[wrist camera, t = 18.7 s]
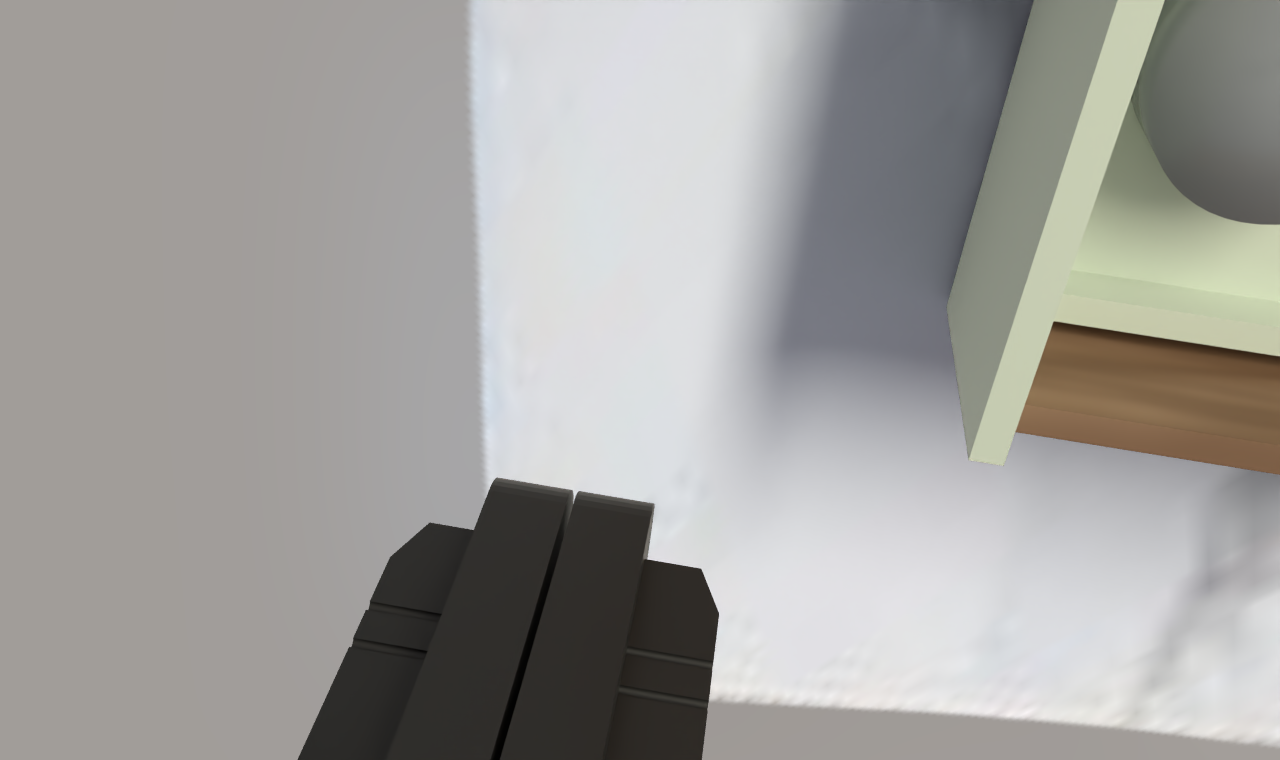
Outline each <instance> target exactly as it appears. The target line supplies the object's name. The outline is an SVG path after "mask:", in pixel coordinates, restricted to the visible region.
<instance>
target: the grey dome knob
mask: <svg viewBox="0 0 1280 760" xmlns="http://www.w3.org/2000/svg"><path fill="white" fill-rule="evenodd" d="M1131 101H1132V104H1133V108H1134V112H1135V115H1136V117H1137V119H1138V122H1139V124H1140V126H1141V128H1142V130H1143V132H1144V134H1145V136H1146V138H1147V140H1148V142H1149V144H1150V146H1151V147H1152V149H1153V151H1154V153H1155V155H1156V157H1157V159H1158V161H1159V163H1160V165H1161V167H1162V169H1163V171H1164V172H1165V174H1166V175H1167V177H1168V178H1169V180H1170V181H1171V183H1172V184H1173V185H1174V186H1175V187H1176V188H1177V189H1178V190H1179V191H1180V192H1181V193H1182V194H1183V195H1184V196H1185V197H1186V198H1188V199H1189V200H1190V201H1192V202H1193V203H1194V204H1196V205H1197V206H1199V207H1201V208H1203V209H1205V210H1206V211H1208V212H1210V213H1213V214H1215V215H1218V216H1220V217H1223V218H1226V219H1230V220H1234V221H1238V222H1242V223H1251V224H1259V225H1280V0H1165V1H1164V4H1163V7H1162V10H1161V13H1160V16H1159V18H1158V21H1157V24H1156V27H1155V30H1154V33H1153V36H1152V39H1151V42H1150V44H1149V47H1148V50H1147V53H1146V56H1145V59H1144V62H1143V65H1142V68H1141V70H1140V73H1139V76H1138V79H1137V82H1136V85H1135V88H1134V91H1133V94H1132V96H1131Z"/></svg>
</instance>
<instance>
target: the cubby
mask: <svg viewBox="0 0 1280 760" xmlns="http://www.w3.org/2000/svg"><path fill="white" fill-rule="evenodd" d="M1015 432H1019V433H1025V434H1031V435H1037V436H1043V437H1050V438H1056V439H1062V440H1068V441H1074V442H1081V443H1087V444H1093V445H1099V446H1105V447H1112V448H1118V449H1124V450H1130V451H1136V452H1143V453H1149V454H1155V455H1161V456H1167V457H1173V458H1180V459H1186V460H1192V461H1198V462H1204V463H1211V464H1217V465H1223V466H1229V467H1235V468H1242V469H1248V470H1254V471H1260V472H1266V473H1273V474H1279V475H1280V356H1274V355H1268V354H1261V353H1255V352H1249V351H1242V350H1236V349H1229V348H1223V347H1216V346H1210V345H1204V344H1197V343H1191V342H1184V341H1178V340H1172V339H1165V338H1159V337H1152V336H1146V335H1140V334H1133V333H1127V332H1120V331H1114V330H1107V329H1101V328H1095V327H1088V326H1082V325H1075V324H1069V323H1063V322H1056V321H1054V322H1053V325H1052V327H1051V330H1050V333H1049V336H1048V339H1047V342H1046V345H1045V348H1044V351H1043V353H1042V356H1041V359H1040V362H1039V365H1038V368H1037V371H1036V374H1035V377H1034V379H1033V382H1032V385H1031V388H1030V391H1029V394H1028V397H1027V400H1026V403H1025V405H1024V408H1023V411H1022V414H1021V417H1020V420H1019V423H1018V426H1017V429H1016V431H1015Z"/></svg>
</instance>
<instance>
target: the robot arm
mask: <svg viewBox="0 0 1280 760" xmlns="http://www.w3.org/2000/svg"><path fill="white" fill-rule="evenodd" d="M653 514H654V504H653V503H647V502H641V501H635V500H629V499H623V498H617V497H611V496H605V495H599V494H593V493H588V492H582V491H579V492H578V493H577V495H576V498H575V501H574V504H573V491H572V490H568V489H562V488H556V487H550V486H544V485H538V484H532V483H526V482H520V481H514V480H508V479H503V478H496V479H495V480H494V481H493V483H492V485H491V487H490V490H489V492H488V495H487V497H486V500H485V503H484V505H483V508H482V510H481V513H480V516H479V518H478V521H477V523H476V526H475V529H474V530H469V529H464V528H458V527H452V526H446V525H440V524H434V523H429V524H428V525H426V526H425V527H424V528H423V529H422V530H421V531H420V532H418V533H417V534H416V535H415V536H414V537H413V538H412V539H410V540H409V541H408V542H407V543H406V544H405V545H403V546H402V547H401V548H400V549H399V550H398V551H397V552H396V553H394V554H393V555H392V556H391V557H390V559H389V561H388V563H387V565H386V567H385V570H384V572H383V574H382V576H381V578H380V581H379V583H378V585H377V587H376V589H375V591H374V594H373V596H372V598H371V600H370V606H369V610H366V611H365V613H364V616H363V618H362V620H361V622H360V624H359V627H358V629H357V631H356V633H355V635H354V638H353V644H352V647H349V648H348V651H347V653H346V655H345V657H344V659H343V662H342V664H341V666H340V669H339V670H338V672H337V675H336V677H335V679H334V681H333V684H332V686H331V688H330V690H329V693H328V694H327V697H326V699H325V701H324V703H323V705H322V707H321V710H320V712H319V714H318V716H317V718H316V721H315V723H314V725H313V727H312V729H311V732H310V734H309V736H308V738H307V740H306V743H305V745H304V747H303V749H302V751H301V754H300V756H299V758H298V760H702V752H703V744H704V736H705V728H706V719H707V708H708V702H709V694H710V685H711V677H712V666H713V660H714V652H715V643H716V635H717V627H718V618H719V612H718V610H717V607H716V605H715V602H714V600H713V597H712V595H711V592H710V590H709V587H708V585H707V582H706V580H705V577H704V575H703V572H702V570H701V569H699V568H693V567H688V566H682V565H676V564H670V563H664V562H658V561H653V560H647V557H648V550H649V543H650V536H651V529H652V522H653Z"/></svg>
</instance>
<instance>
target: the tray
mask: <svg viewBox="0 0 1280 760" xmlns="http://www.w3.org/2000/svg"><path fill="white" fill-rule="evenodd" d="M1164 1H1165V0H1034V2H1033V5H1032V9H1031V12H1030V16H1029V19H1028V23H1027V26H1026V30H1025V33H1024V37H1023V40H1022V44H1021V47H1020V51H1019V54H1018V58H1017V61H1016V65H1015V68H1014V72H1013V75H1012V79H1011V82H1010V86H1009V89H1008V93H1007V96H1006V100H1005V103H1004V107H1003V110H1002V114H1001V117H1000V121H999V124H998V128H997V131H996V135H995V138H994V142H993V146H992V149H991V153H990V156H989V160H988V163H987V167H986V170H985V174H984V177H983V181H982V184H981V188H980V191H979V195H978V198H977V202H976V205H975V209H974V212H973V216H972V219H971V223H970V226H969V230H968V233H967V237H966V240H965V244H964V247H963V251H962V254H961V258H960V261H959V265H958V268H957V272H956V275H955V279H954V282H953V286H952V289H951V293H950V296H949V300H948V303H947V307H946V308H947V315H948V322H949V329H950V336H951V343H952V349H953V356H954V363H955V370H956V377H957V384H958V391H959V398H960V405H961V412H962V418H963V425H964V432H965V439H966V446H967V453H968V460H970V461H976V462H983V463H989V464H995V465H1001V466H1004V463H1005V460H1006V457H1007V455H1008V452H1009V449H1010V446H1011V443H1012V440H1013V437H1014V434H1015V431H1016V429H1017V426H1018V423H1019V420H1020V417H1021V414H1022V411H1023V408H1024V405H1025V403H1026V400H1027V397H1028V394H1029V391H1030V388H1031V385H1032V382H1033V379H1034V377H1035V374H1036V371H1037V368H1038V365H1039V362H1040V359H1041V356H1042V353H1043V351H1044V348H1045V345H1046V342H1047V339H1048V336H1049V333H1050V330H1051V327H1052V325H1053V322H1054V321H1056V322H1063V323H1069V324H1075V325H1082V326H1088V327H1095V328H1101V329H1107V330H1114V331H1120V332H1127V333H1133V334H1140V335H1146V336H1152V337H1159V338H1165V339H1172V340H1178V341H1184V342H1191V343H1197V344H1204V345H1210V346H1216V347H1223V348H1229V349H1236V350H1242V351H1249V352H1255V353H1261V354H1268V355H1274V356H1280V225H1259V224H1251V223H1242V222H1238V221H1234V220H1230V219H1226V218H1223V217H1220V216H1218V215H1215V214H1213V213H1210V212H1208V211H1206V210H1205V209H1203V208H1201V207H1199V206H1197V205H1196V204H1194V203H1193V202H1192V201H1190V200H1189V199H1188V198H1186V197H1185V196H1184V195H1183V194H1182V193H1181V192H1180V191H1179V190H1178V189H1177V188H1176V187H1175V186H1174V185H1173V184H1172V183H1171V181H1170V180H1169V178H1168V177H1167V175H1166V174H1165V172H1164V171H1163V169H1162V167H1161V165H1160V163H1159V161H1158V159H1157V157H1156V155H1155V153H1154V151H1153V149H1152V147H1151V146H1150V144H1149V142H1148V140H1147V138H1146V136H1145V134H1144V132H1143V130H1142V128H1141V126H1140V124H1139V122H1138V119H1137V117H1136V115H1135V112H1134V108H1133V104H1132V101H1131V96H1132V94H1133V91H1134V88H1135V85H1136V82H1137V79H1138V76H1139V73H1140V70H1141V68H1142V65H1143V62H1144V59H1145V56H1146V53H1147V50H1148V47H1149V44H1150V42H1151V39H1152V36H1153V33H1154V30H1155V27H1156V24H1157V21H1158V18H1159V16H1160V13H1161V10H1162V7H1163V4H1164Z"/></svg>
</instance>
